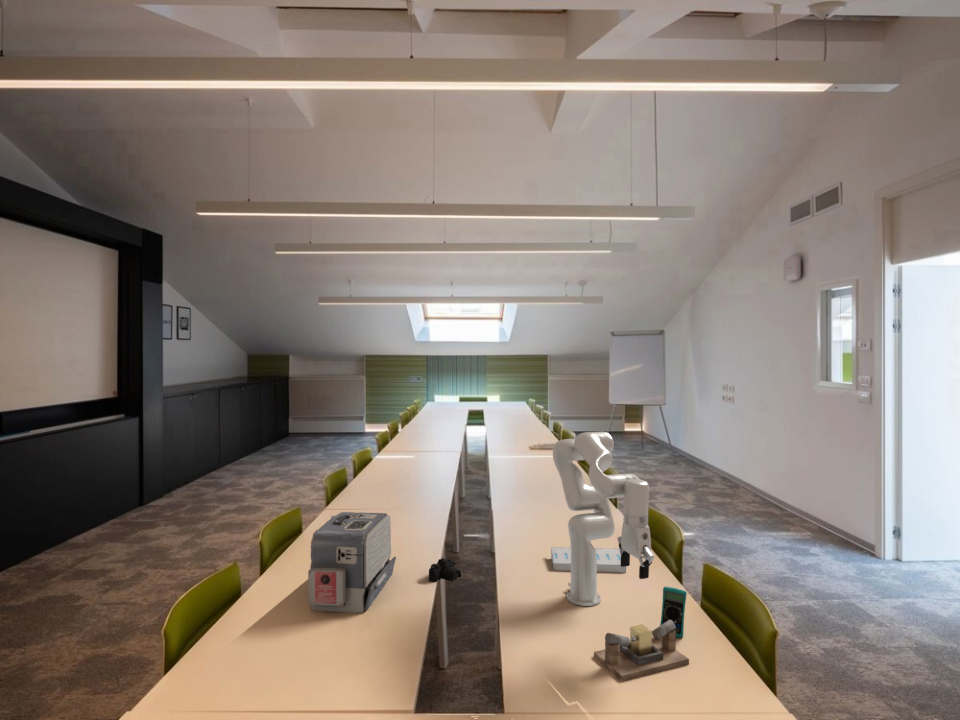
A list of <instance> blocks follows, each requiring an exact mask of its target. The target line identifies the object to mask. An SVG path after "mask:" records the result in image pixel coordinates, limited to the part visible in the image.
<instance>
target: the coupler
mask: <svg viewBox="0 0 960 720" xmlns="http://www.w3.org/2000/svg"><path fill="white" fill-rule="evenodd" d="M629 629H630V630H629V640H630V650H631V651H632V652H633V653H635V654H636V655H637V656H639V657H640V656H644V655H648V654H651V643H652V639H653V637H652V636H653V635H652V631H653V630H651V629H649V628H648V627H647V626H645V625H644V624H636V625H633V626H630V628H629Z"/></svg>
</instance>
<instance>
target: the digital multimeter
mask: <svg viewBox="0 0 960 720" xmlns="http://www.w3.org/2000/svg"><path fill="white" fill-rule="evenodd" d="M687 594H688V593H687V591H686V590H684V589H680V588H676V587H671V586H663V588H662V602H661V603H662V606H661V615H660V616H661V617H660V625H659V626H661V625H662V624H664V623H665V622H667V621H668V620H672V621H673V622H674V624H675V626H676V628H675V629H673V630H674V631H675V632H676V638H683V637H684V627H685V626H684V624H685V611H686V602H687Z"/></svg>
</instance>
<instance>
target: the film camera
mask: <svg viewBox="0 0 960 720" xmlns="http://www.w3.org/2000/svg"><path fill="white" fill-rule="evenodd" d="M457 563H458V562H454V560H452V558H447V559H445V558H444V557H442V558H439V559H438V561H437V563H432V564H431V565H430V568H429V569H428V581H429V582H430V583H437V582H438V581H441V580H445V581H448V582H454V581H455V580H457V579H459V578H462V571H461V570H460V569H458V568H455V565H457Z"/></svg>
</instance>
